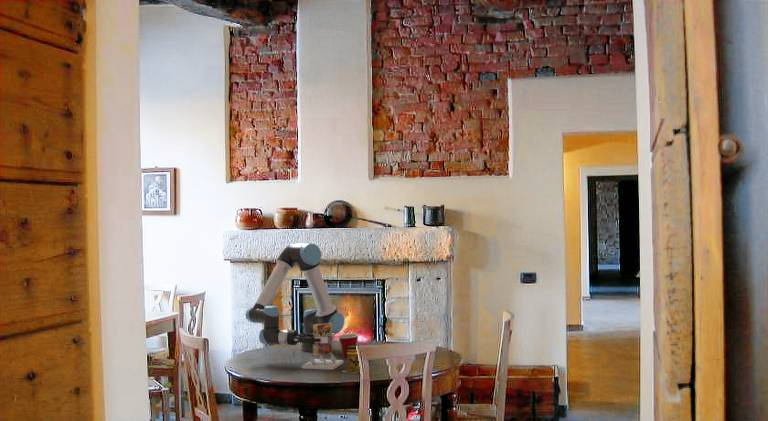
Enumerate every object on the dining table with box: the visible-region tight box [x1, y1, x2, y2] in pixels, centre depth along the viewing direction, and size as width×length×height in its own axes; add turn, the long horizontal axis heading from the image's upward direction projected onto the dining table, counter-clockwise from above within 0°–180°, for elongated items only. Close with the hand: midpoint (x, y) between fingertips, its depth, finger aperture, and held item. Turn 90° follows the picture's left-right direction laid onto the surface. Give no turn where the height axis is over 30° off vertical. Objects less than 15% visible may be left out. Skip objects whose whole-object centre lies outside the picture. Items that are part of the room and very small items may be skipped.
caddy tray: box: [301, 354, 344, 370], centre depth 322 cm, size 16×16×4 cm
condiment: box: [341, 345, 361, 374], centre depth 307 cm, size 7×8×12 cm
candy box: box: [312, 323, 333, 357], centre depth 322 cm, size 9×4×15 cm, turn 126°
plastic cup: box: [337, 333, 359, 359], centre depth 342 cm, size 11×11×12 cm
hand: (330, 338), depth 321 cm, fingers closed on candy box, 9 cm apart
